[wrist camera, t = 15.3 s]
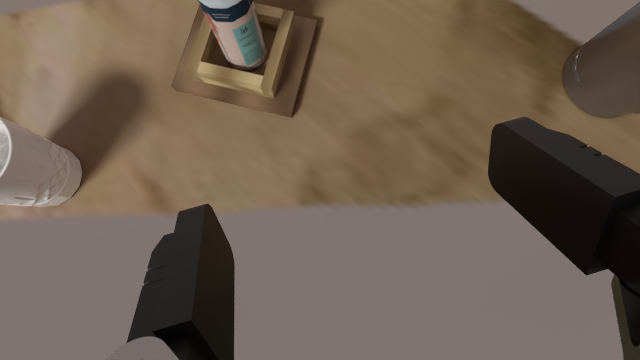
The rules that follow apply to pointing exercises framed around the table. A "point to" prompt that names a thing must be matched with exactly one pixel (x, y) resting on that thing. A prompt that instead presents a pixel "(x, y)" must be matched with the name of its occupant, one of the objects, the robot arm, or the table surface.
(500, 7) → the table surface
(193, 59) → the caddy
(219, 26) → the beer can
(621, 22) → the robot arm
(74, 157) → the white cup
